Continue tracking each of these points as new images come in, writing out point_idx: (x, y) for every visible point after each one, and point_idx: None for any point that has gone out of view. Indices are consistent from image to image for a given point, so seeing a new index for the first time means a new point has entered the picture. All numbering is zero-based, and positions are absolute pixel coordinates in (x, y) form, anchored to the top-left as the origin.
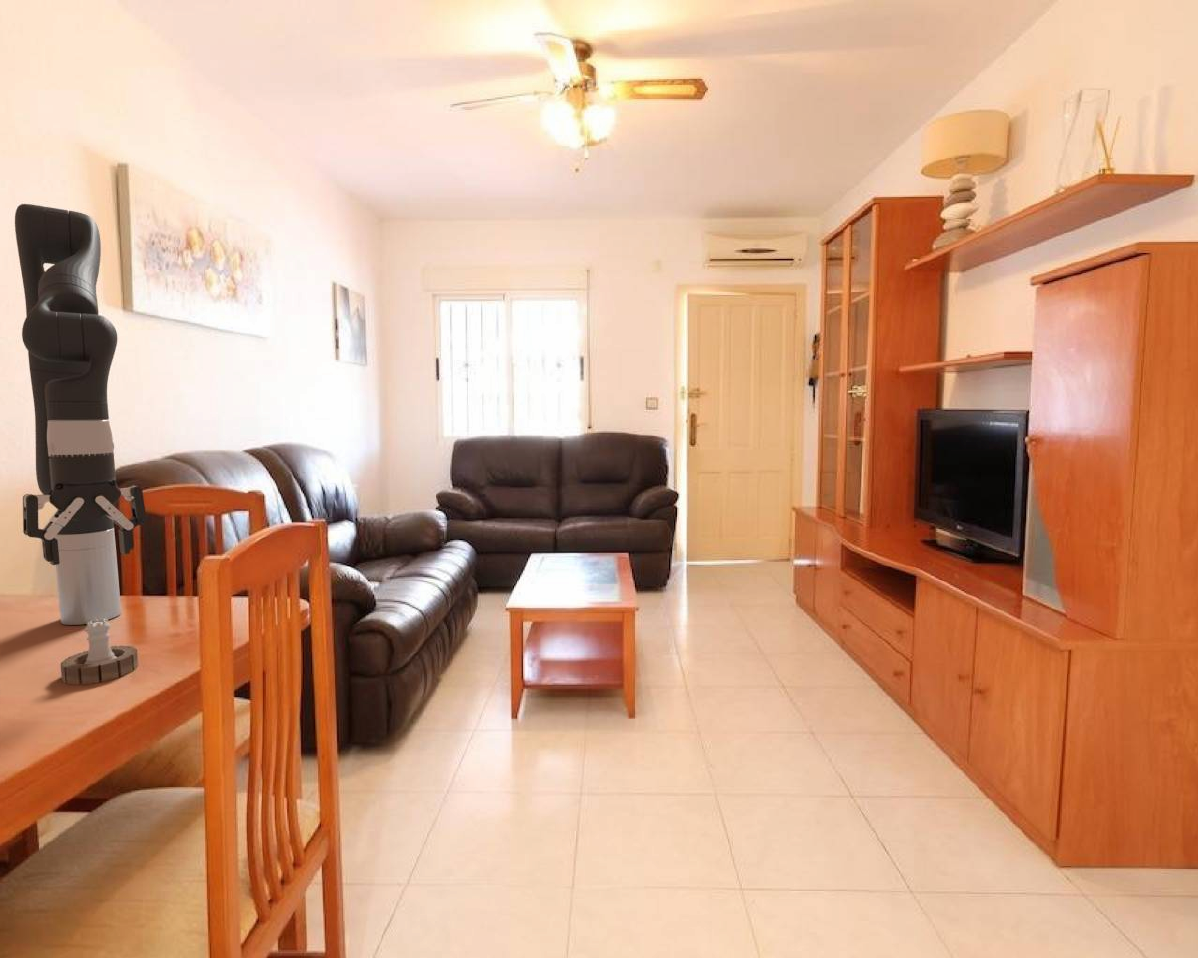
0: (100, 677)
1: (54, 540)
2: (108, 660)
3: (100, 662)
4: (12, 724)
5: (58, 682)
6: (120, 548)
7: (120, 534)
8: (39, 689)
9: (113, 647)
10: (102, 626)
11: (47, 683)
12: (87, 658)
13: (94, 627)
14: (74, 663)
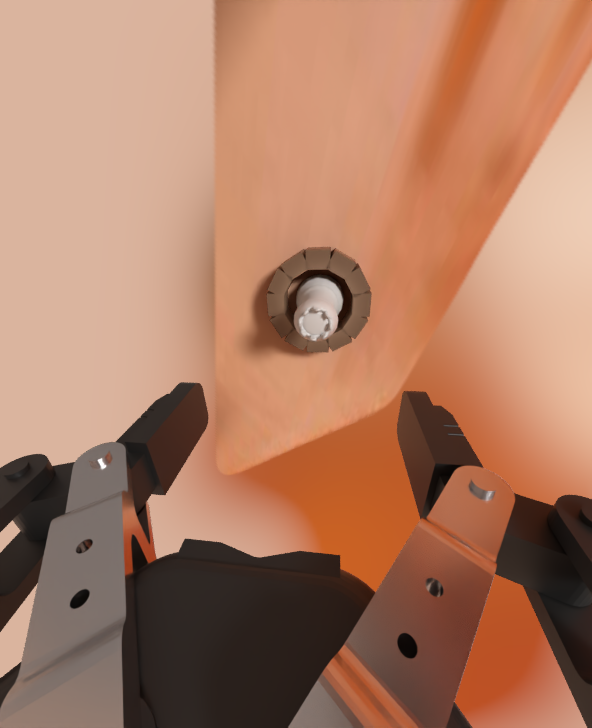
0: None
1: (156, 492)
2: None
3: None
4: (217, 393)
5: None
6: (407, 403)
7: (422, 466)
8: (245, 302)
9: (348, 270)
10: (319, 339)
11: (255, 284)
12: (301, 302)
13: (306, 336)
14: (282, 309)
